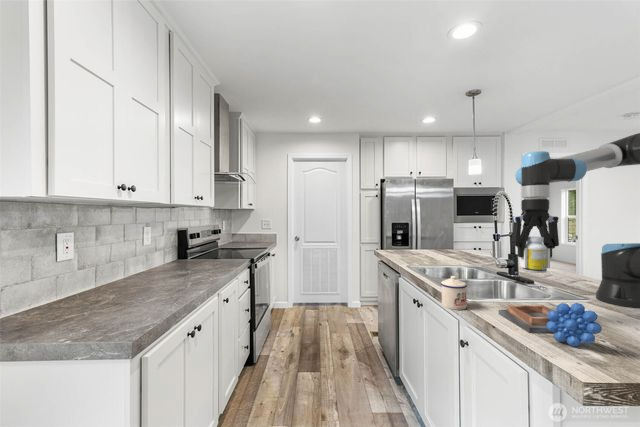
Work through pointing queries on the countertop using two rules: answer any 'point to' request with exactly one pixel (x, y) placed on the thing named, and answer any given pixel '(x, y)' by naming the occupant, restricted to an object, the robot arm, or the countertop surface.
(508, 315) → the socket board
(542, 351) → the countertop surface
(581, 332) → the blue bumpy cluster
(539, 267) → the pill bottle
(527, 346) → the countertop surface
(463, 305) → the teacup with lid
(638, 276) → the robot arm
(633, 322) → the countertop surface
